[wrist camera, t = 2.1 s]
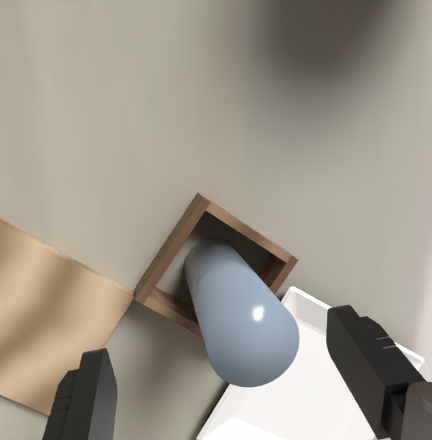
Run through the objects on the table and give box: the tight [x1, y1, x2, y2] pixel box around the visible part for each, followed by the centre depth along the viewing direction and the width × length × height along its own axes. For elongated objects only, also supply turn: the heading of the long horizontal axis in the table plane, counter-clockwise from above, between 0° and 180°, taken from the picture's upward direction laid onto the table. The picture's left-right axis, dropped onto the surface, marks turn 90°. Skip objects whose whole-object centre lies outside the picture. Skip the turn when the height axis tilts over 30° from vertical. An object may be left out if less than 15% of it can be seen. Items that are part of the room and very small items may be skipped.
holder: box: [135, 193, 298, 337], centre depth 35 cm, size 11×11×4 cm
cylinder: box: [184, 240, 300, 387], centre depth 29 cm, size 6×6×15 cm
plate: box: [196, 286, 424, 440], centre depth 40 cm, size 19×19×2 cm
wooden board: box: [0, 219, 135, 416], centre depth 34 cm, size 14×14×1 cm
